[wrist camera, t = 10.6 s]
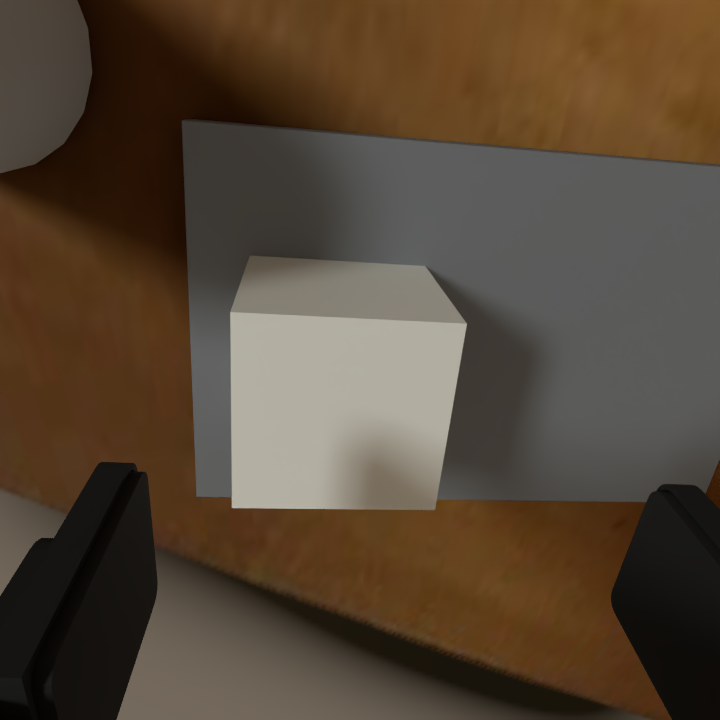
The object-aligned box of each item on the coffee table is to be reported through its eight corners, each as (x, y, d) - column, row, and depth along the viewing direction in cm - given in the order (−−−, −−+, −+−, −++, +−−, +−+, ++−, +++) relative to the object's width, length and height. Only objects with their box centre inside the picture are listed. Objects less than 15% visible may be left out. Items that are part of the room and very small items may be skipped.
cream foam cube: (425, 266, 20) (466, 323, 15) (405, 416, 22) (435, 510, 17) (249, 255, 19) (230, 312, 14) (249, 411, 22) (231, 508, 16)
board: (800, 171, 21) (834, 176, 20) (681, 482, 27) (701, 502, 26) (190, 119, 19) (181, 120, 17) (202, 474, 24) (196, 496, 23)
